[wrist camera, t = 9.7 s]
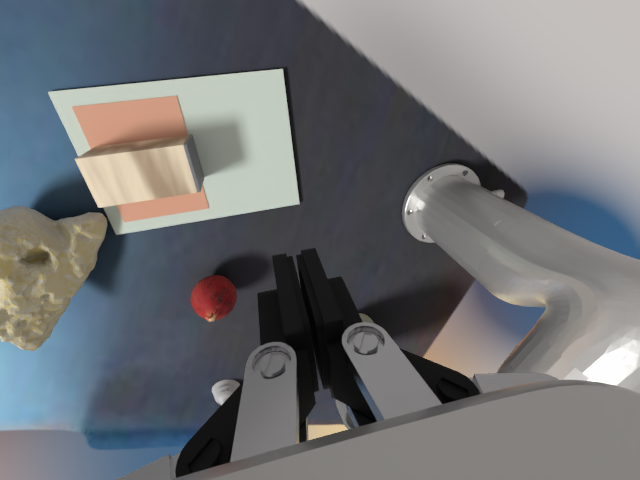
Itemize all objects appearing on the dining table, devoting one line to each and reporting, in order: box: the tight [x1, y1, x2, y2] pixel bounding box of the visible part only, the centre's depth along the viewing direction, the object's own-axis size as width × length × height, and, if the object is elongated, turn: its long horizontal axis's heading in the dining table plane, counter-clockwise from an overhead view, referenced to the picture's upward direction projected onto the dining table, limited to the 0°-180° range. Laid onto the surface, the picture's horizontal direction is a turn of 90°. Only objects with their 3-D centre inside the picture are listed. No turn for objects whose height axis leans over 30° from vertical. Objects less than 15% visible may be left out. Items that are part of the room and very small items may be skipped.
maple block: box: [75, 135, 204, 208], centre depth 33 cm, size 5×5×10 cm
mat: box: [48, 69, 300, 235], centre depth 36 cm, size 23×16×1 cm
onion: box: [191, 275, 237, 322], centre depth 42 cm, size 6×6×8 cm
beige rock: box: [0, 206, 107, 351], centre depth 35 cm, size 15×7×15 cm
